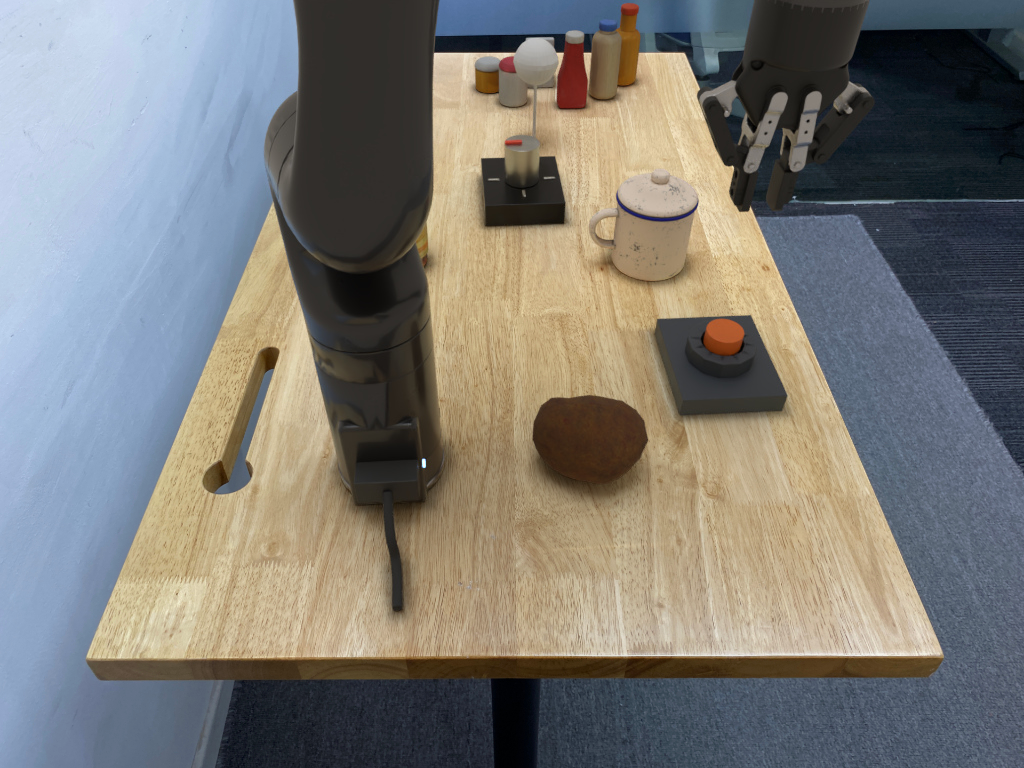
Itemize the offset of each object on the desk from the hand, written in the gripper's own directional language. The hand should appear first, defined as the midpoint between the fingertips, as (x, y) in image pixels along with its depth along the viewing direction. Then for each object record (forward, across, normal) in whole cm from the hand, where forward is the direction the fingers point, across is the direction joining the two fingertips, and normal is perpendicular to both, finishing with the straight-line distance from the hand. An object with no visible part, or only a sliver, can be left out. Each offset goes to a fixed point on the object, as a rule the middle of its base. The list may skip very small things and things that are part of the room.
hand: (757, 205), depth 65 cm
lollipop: (+19, -14, +49) cm, 54 cm away
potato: (+19, -15, -12) cm, 27 cm away
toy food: (+19, -8, +67) cm, 70 cm away
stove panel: (+19, -17, +34) cm, 43 cm away
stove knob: (+16, -17, +34) cm, 41 cm away
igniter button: (+15, 0, 0) cm, 15 cm away
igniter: (+19, 0, 0) cm, 19 cm away
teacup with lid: (+19, -4, +19) cm, 28 cm away
